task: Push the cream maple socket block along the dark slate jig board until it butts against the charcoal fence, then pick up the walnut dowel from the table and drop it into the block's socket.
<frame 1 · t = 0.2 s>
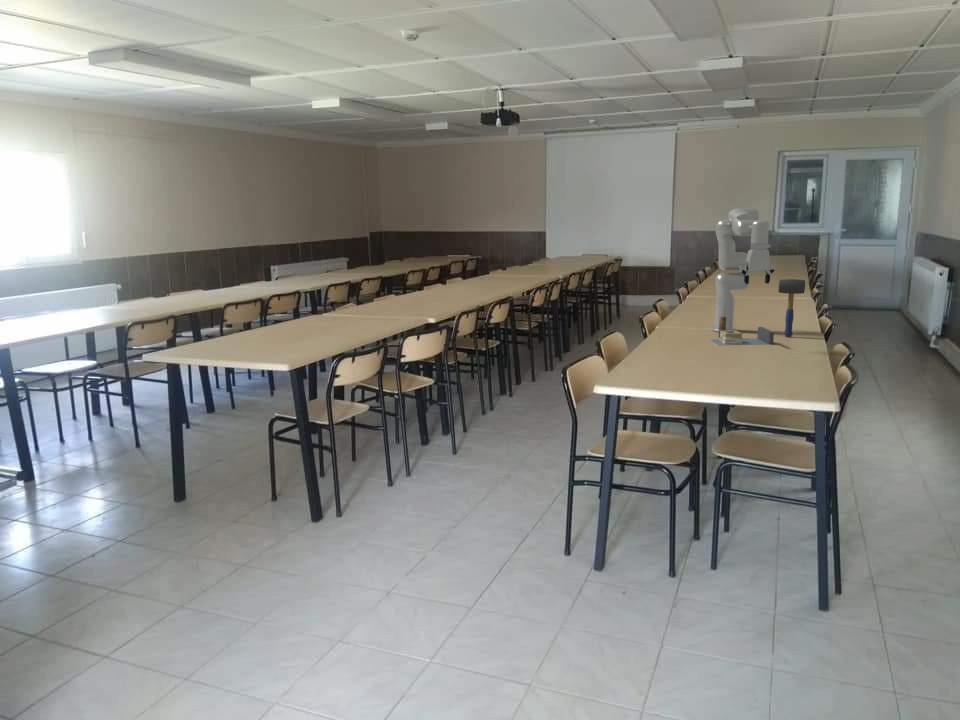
hand: (756, 283, 335), 31 cm above the table, fingers open, 9 cm apart
dowel: (721, 340, 360), on the table
socket block: (730, 342, 347), point 1 cm above the table, touching jig board
jig board: (740, 344, 347), on the table
rubber mallet: (788, 337, 364), on the table
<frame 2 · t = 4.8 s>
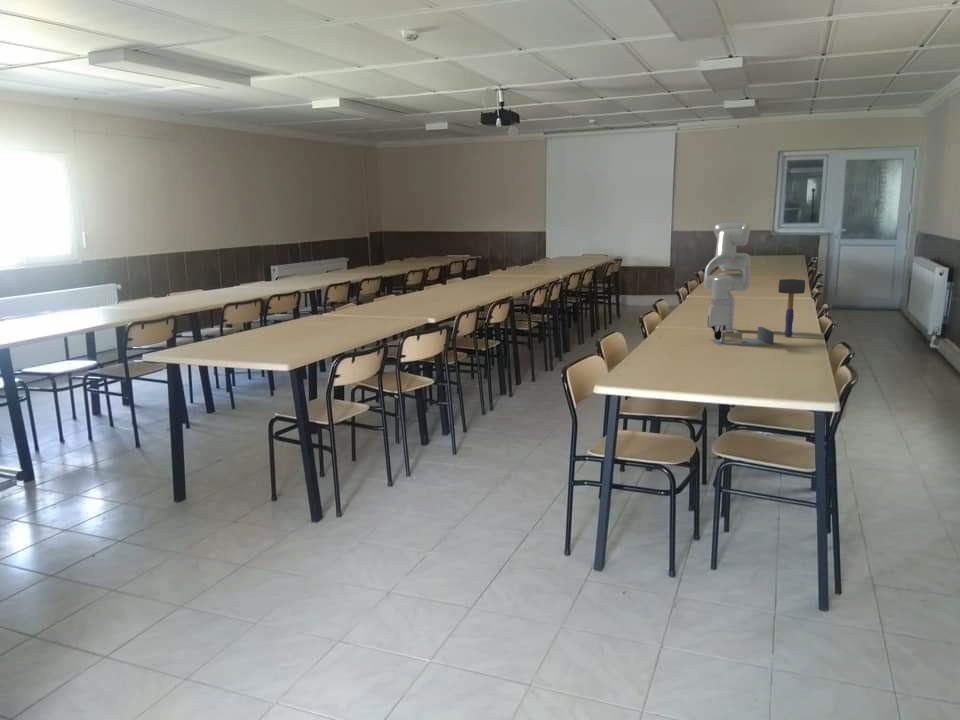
hand: (717, 339, 346), 3 cm above the table, fingers closed
socket block: (730, 342, 347), point 1 cm above the table, touching gripper, jig board
everything else where it was.
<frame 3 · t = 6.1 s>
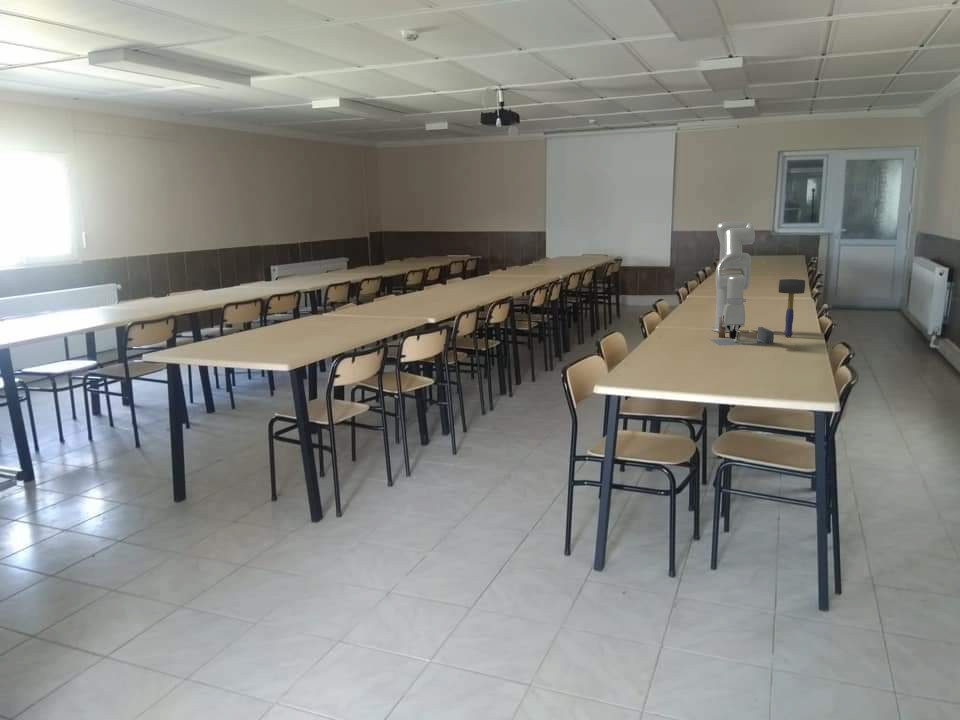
hand: (732, 338, 346), 3 cm above the table, fingers closed
socket block: (745, 342, 346), point 1 cm above the table, touching gripper, jig board
everything else where it was.
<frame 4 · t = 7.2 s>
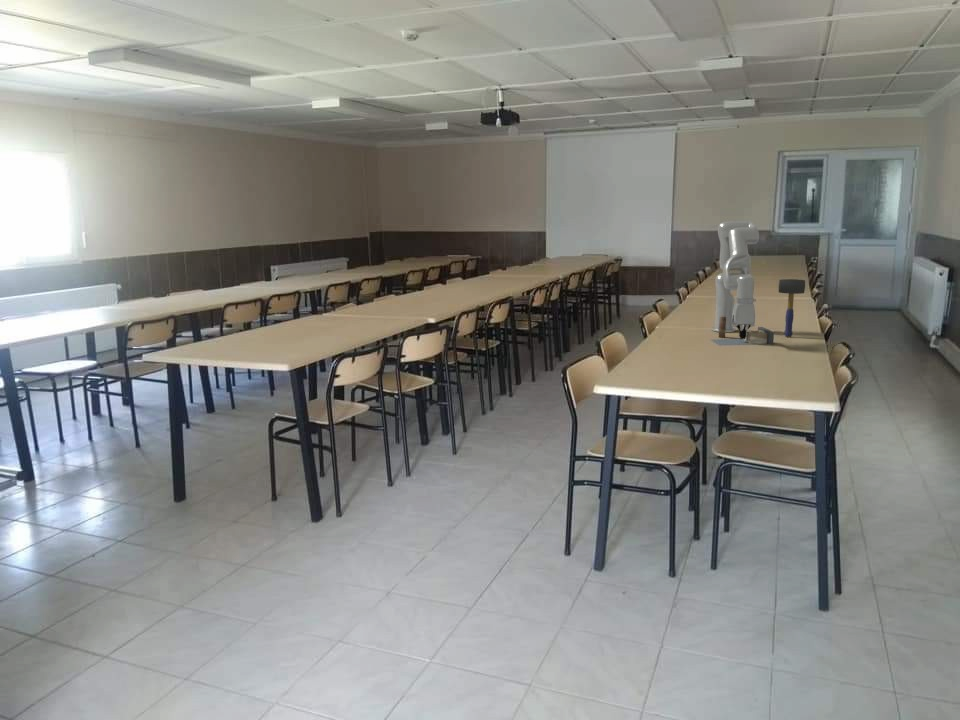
hand: (742, 338, 346), 3 cm above the table, fingers closed
socket block: (755, 341, 346), point 2 cm above the table, touching gripper, jig board
everything else where it was.
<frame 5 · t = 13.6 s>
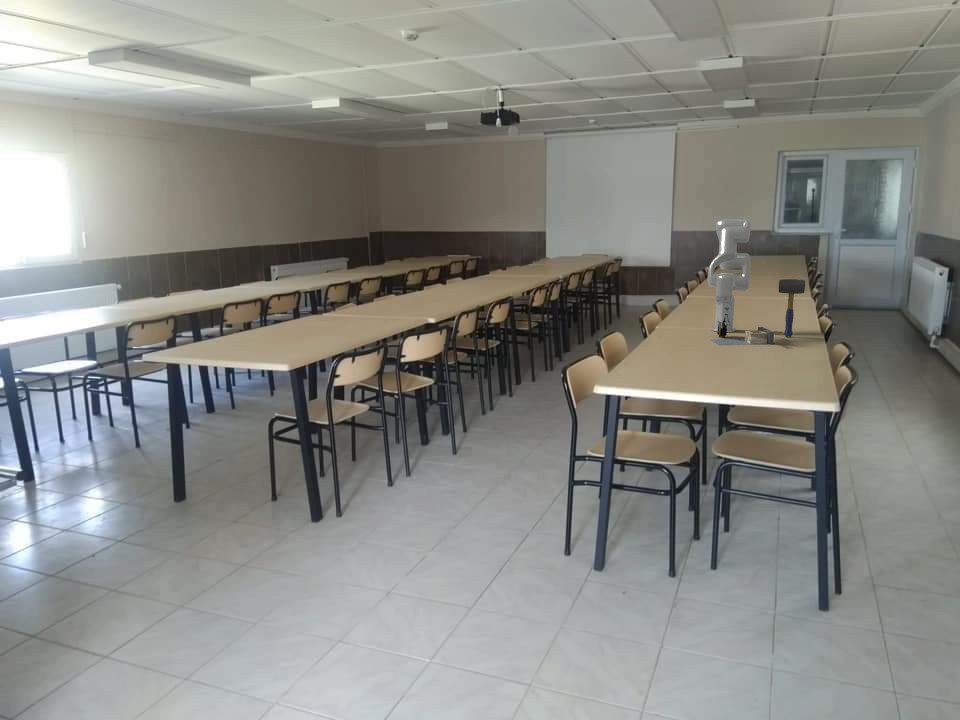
hand: (721, 334, 359), 3 cm above the table, fingers closed on dowel, 3 cm apart
dowel: (721, 340, 360), on the table, touching gripper
socket block: (755, 341, 346), point 1 cm above the table, touching jig board
everything else where it was.
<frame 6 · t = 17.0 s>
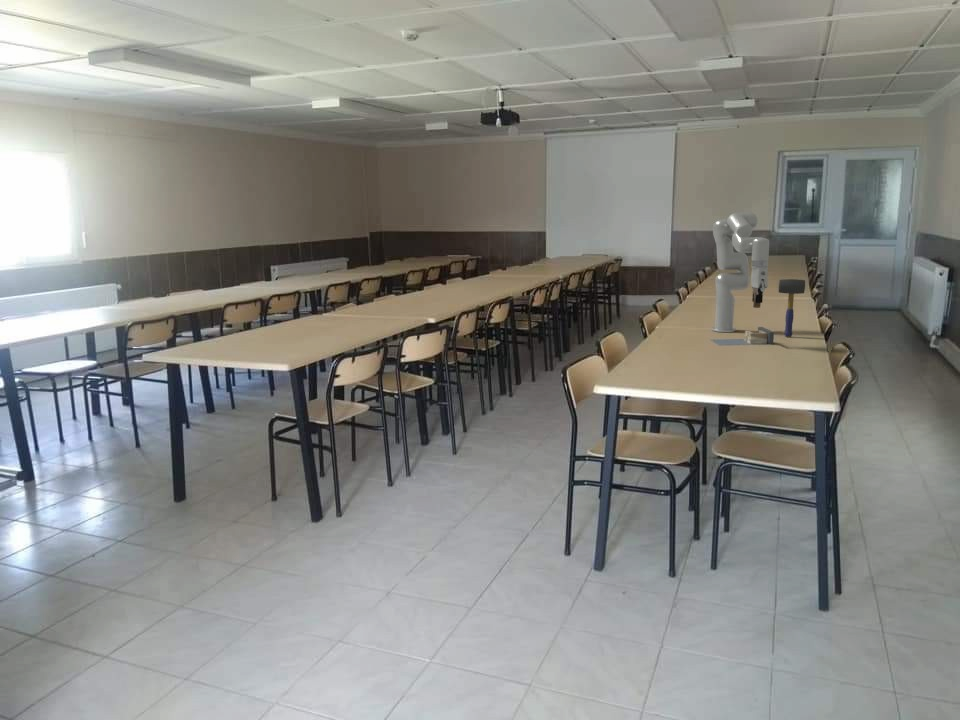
hand: (757, 301, 342), 21 cm above the table, fingers closed on dowel, 3 cm apart
dowel: (756, 307, 343), point 19 cm above the table, touching gripper
everything else where it was.
when the fingers open (7 cm above the table, at t = 20.6 s): dowel drops 2 cm, resting on socket block.
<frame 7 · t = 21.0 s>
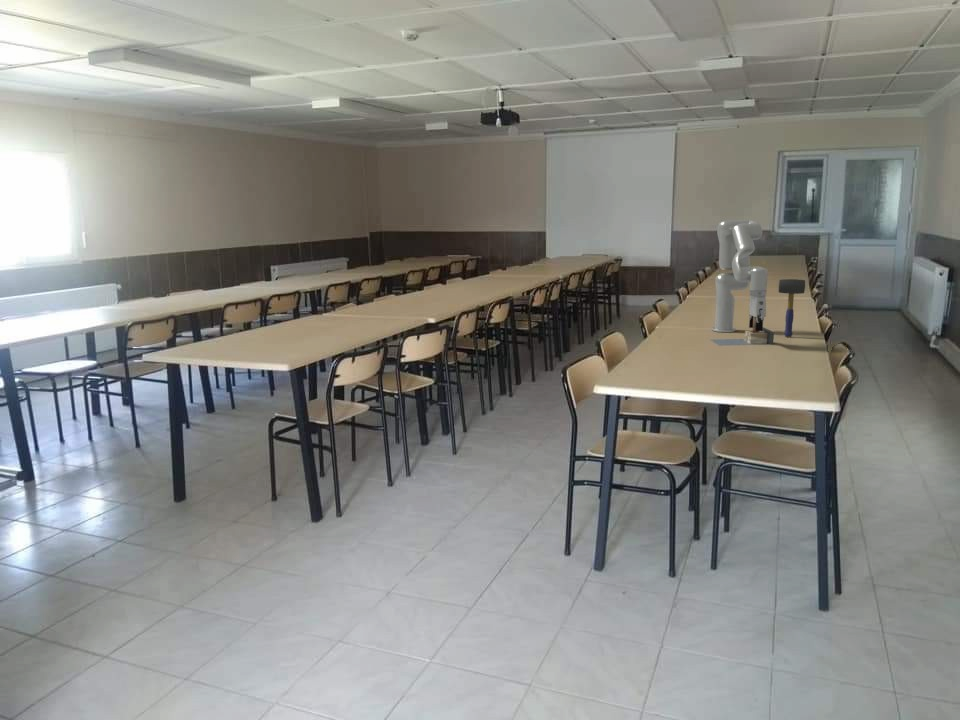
hand: (755, 329, 345), 8 cm above the table, fingers open, 7 cm apart
dowel: (755, 339, 346), point 3 cm above the table, touching socket block
socket block: (755, 341, 346), point 1 cm above the table, touching dowel, jig board
everything else where it was.
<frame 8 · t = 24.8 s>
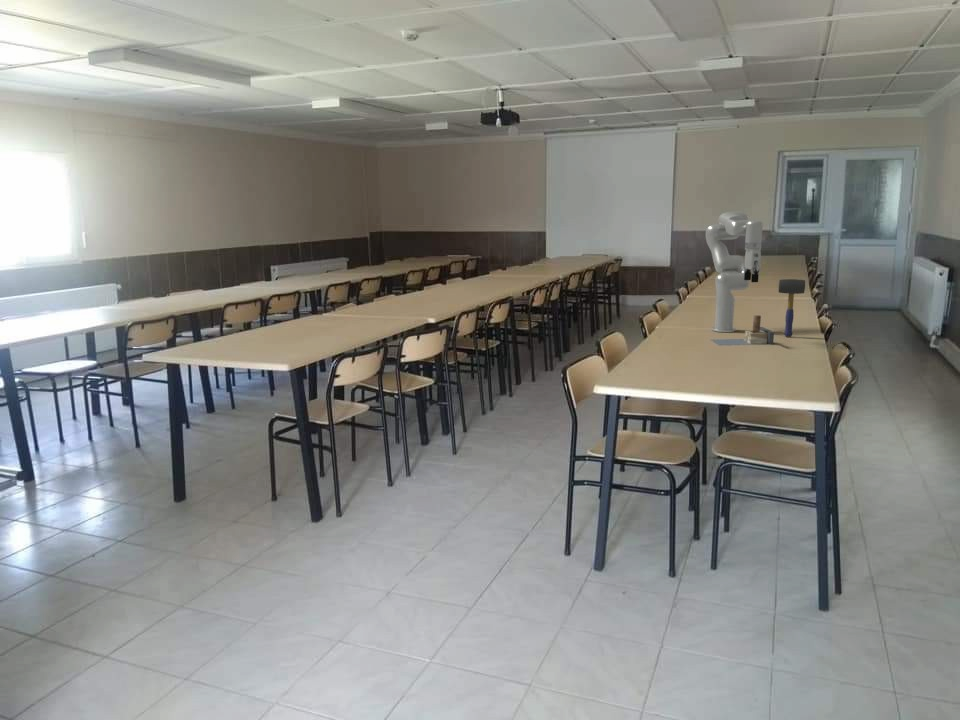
hand: (750, 281, 350), 30 cm above the table, fingers open, 9 cm apart
nothing on the table moved.
at the end: dowel 0.1 cm from the socket block (horizontally); dowel point 2.5 cm above the table; socket block inside the target area (0.9 cm from its centre), point 1.5 cm above the table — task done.
